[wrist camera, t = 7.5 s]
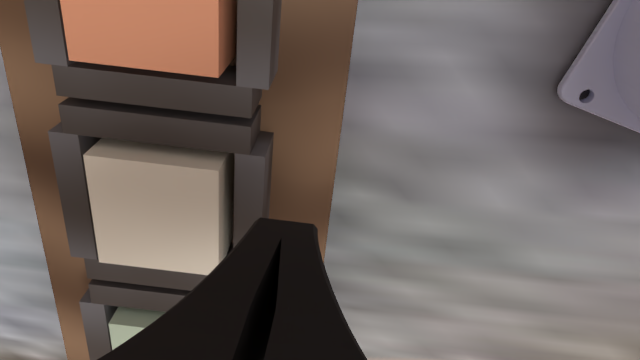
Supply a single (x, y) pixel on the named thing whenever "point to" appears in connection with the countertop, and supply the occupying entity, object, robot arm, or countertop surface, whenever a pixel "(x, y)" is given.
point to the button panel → (175, 139)
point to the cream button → (160, 205)
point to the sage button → (129, 323)
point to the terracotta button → (153, 34)
